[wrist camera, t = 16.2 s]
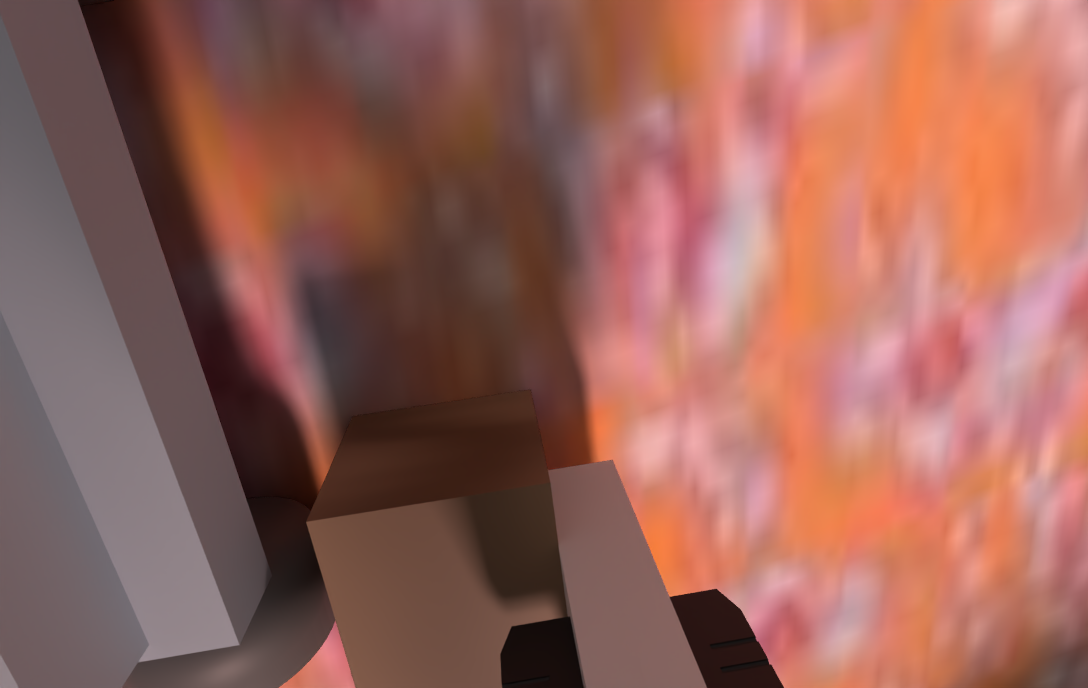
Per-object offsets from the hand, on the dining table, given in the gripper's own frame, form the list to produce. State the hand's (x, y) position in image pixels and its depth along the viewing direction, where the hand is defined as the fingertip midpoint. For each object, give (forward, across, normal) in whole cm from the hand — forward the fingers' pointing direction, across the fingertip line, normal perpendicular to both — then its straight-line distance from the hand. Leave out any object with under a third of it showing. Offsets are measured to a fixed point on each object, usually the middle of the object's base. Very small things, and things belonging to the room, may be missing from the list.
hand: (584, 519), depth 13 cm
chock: (+2, -3, 0) cm, 3 cm away
